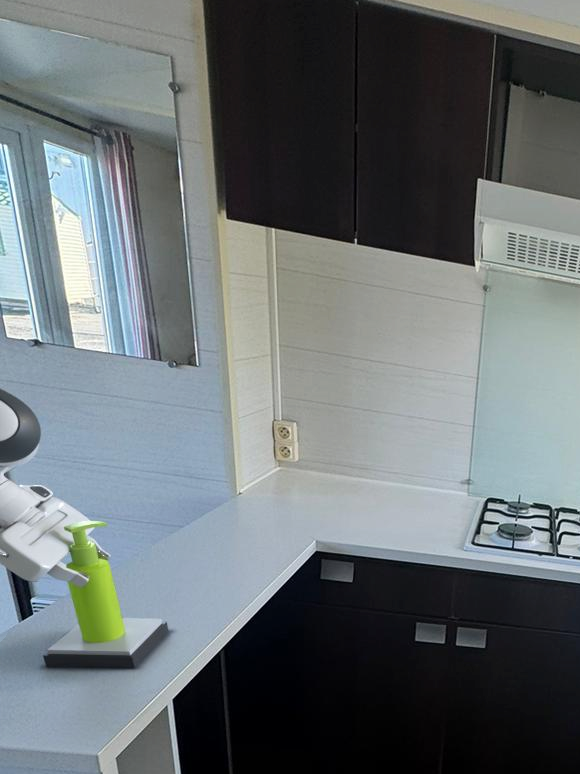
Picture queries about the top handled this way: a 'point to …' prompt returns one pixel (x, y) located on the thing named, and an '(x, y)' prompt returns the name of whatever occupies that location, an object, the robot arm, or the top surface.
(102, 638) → the soap dispenser
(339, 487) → the top surface
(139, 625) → the kitchen scale
